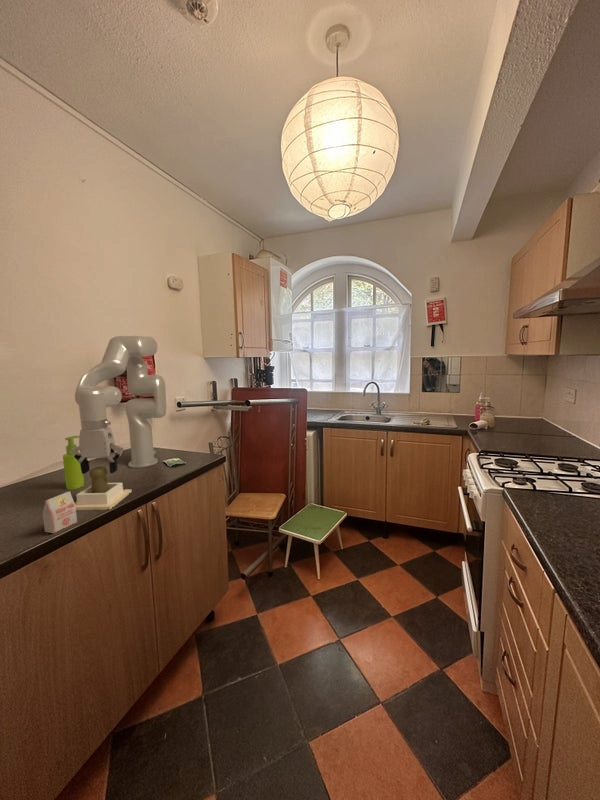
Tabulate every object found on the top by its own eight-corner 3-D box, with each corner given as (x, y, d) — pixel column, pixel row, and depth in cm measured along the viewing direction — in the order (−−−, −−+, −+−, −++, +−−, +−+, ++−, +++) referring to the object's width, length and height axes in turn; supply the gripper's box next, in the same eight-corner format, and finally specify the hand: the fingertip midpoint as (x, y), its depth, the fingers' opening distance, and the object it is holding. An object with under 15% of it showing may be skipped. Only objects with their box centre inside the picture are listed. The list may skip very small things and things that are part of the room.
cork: (101, 502, 107) (98, 471, 106) (86, 500, 108) (83, 470, 107) (114, 494, 113) (112, 465, 112) (100, 493, 114) (97, 464, 113)
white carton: (45, 532, 90) (41, 499, 89) (68, 521, 97) (65, 490, 95) (53, 534, 89) (50, 501, 88) (77, 523, 95) (73, 491, 94)
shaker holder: (93, 492, 117) (92, 481, 117) (131, 491, 118) (130, 480, 117) (67, 510, 104) (66, 497, 103) (110, 509, 104) (108, 496, 103)
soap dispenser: (90, 484, 126) (85, 435, 123) (72, 490, 120) (66, 439, 117) (81, 481, 128) (76, 434, 126) (63, 488, 122) (57, 438, 120)
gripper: (125, 422, 111) (130, 467, 114) (76, 422, 111) (82, 468, 114) (113, 427, 104) (118, 476, 107) (61, 427, 103) (67, 476, 106)
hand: (99, 472), depth 110 cm, fingers open, 9 cm apart
